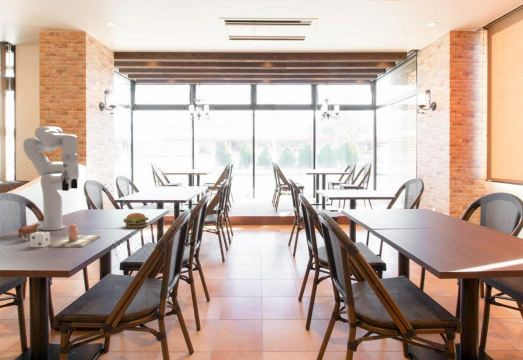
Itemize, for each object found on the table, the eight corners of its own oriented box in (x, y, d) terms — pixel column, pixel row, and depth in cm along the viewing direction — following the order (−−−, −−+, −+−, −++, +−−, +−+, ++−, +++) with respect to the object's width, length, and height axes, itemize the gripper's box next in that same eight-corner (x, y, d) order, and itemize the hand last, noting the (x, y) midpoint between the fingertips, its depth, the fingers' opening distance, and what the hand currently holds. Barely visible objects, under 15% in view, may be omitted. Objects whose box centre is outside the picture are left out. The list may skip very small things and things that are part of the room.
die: (30, 247, 187) (29, 234, 187) (37, 244, 193) (37, 231, 193) (43, 247, 187) (43, 234, 187) (50, 244, 193) (49, 231, 193)
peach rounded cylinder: (67, 241, 194) (66, 224, 193) (71, 239, 198) (70, 223, 197) (75, 241, 194) (75, 224, 193) (79, 239, 198) (78, 223, 197)
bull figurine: (44, 237, 209) (44, 221, 208) (21, 242, 196) (21, 226, 196) (38, 236, 210) (37, 221, 210) (15, 242, 198) (14, 225, 197)
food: (118, 227, 238) (118, 213, 237) (135, 223, 250) (135, 210, 249) (135, 229, 231) (135, 215, 231) (152, 225, 244) (152, 212, 243)
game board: (48, 246, 188) (48, 244, 188) (69, 237, 209) (69, 235, 209) (82, 247, 188) (82, 244, 188) (100, 237, 209) (100, 235, 209)
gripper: (68, 158, 206) (68, 192, 207) (84, 157, 223) (84, 187, 225) (54, 158, 206) (54, 191, 208) (70, 156, 223) (70, 187, 225)
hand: (69, 189), depth 216 cm, fingers open, 9 cm apart
